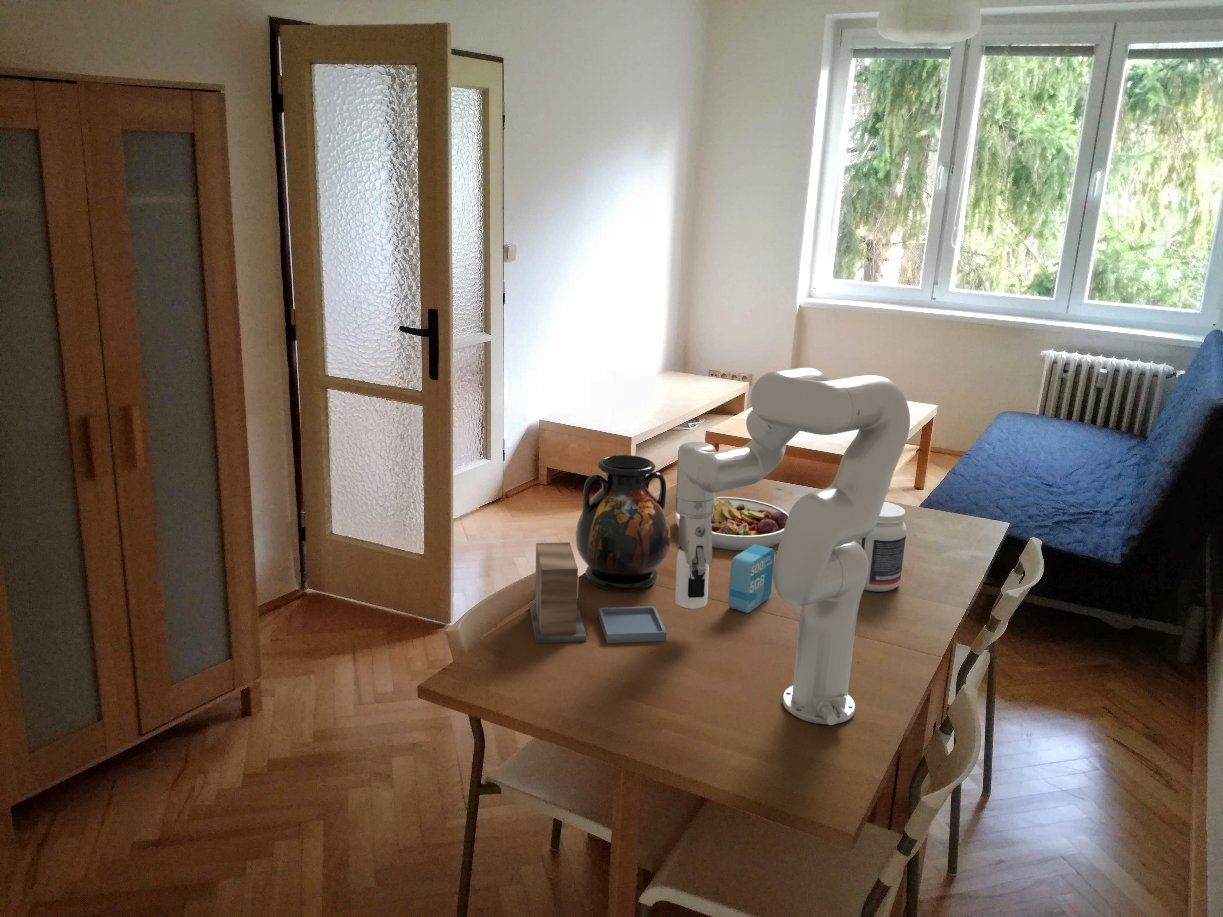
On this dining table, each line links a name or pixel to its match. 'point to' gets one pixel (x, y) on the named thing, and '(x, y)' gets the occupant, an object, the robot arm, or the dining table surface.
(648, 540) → the amphora vase
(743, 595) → the data package
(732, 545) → the bowl
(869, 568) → the supplement tub
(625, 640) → the tray
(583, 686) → the dining table surface
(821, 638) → the robot arm
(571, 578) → the block
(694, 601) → the can
